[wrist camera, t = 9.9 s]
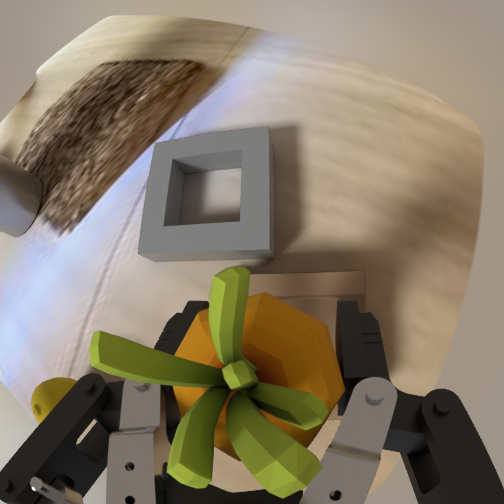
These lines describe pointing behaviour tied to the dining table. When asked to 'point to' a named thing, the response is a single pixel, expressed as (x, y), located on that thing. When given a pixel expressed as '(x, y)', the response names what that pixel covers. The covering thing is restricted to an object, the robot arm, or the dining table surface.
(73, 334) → the dining table surface
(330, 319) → the square wooden tray
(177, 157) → the socket block
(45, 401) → the lemon
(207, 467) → the carrot
